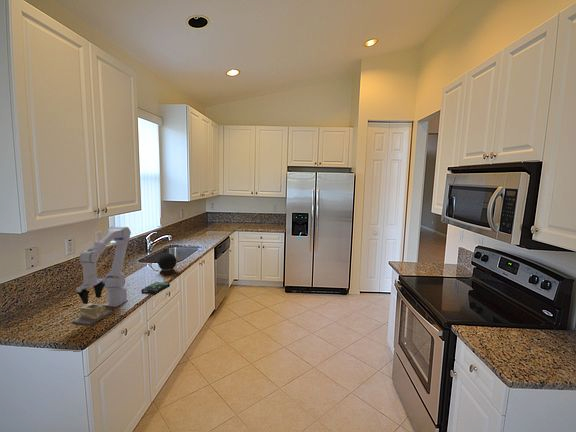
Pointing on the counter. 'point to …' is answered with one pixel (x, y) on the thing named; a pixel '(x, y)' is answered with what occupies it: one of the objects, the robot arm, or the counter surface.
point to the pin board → (90, 321)
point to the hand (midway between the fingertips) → (92, 300)
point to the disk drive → (155, 288)
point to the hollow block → (92, 311)
